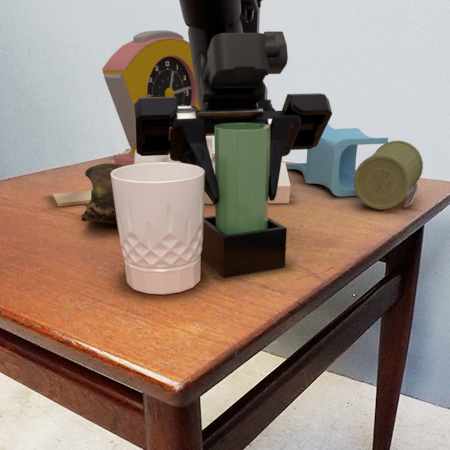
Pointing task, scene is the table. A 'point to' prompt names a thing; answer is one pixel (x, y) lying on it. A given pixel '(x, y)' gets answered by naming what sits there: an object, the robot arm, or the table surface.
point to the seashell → (101, 194)
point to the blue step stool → (335, 159)
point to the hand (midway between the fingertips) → (244, 200)
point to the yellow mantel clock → (149, 77)
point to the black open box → (243, 249)
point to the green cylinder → (242, 176)
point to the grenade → (389, 175)
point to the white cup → (160, 224)
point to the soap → (125, 151)
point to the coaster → (72, 198)
